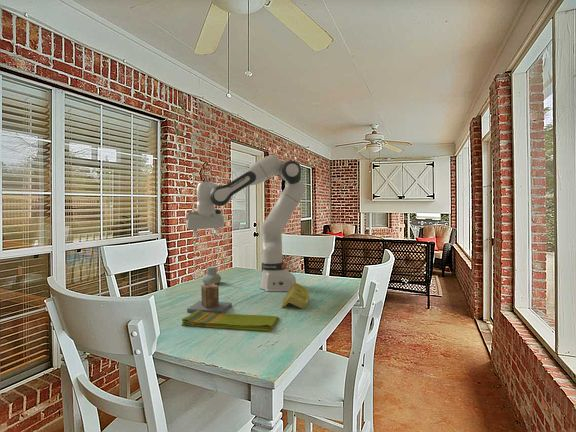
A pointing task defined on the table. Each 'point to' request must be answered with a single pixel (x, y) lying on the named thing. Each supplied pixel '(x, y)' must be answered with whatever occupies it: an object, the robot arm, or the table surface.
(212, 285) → the housing
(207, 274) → the grey green jug
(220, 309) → the mounting plate
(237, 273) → the table surface
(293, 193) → the robot arm
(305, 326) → the table surface
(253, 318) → the dish towel
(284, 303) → the plastic component
